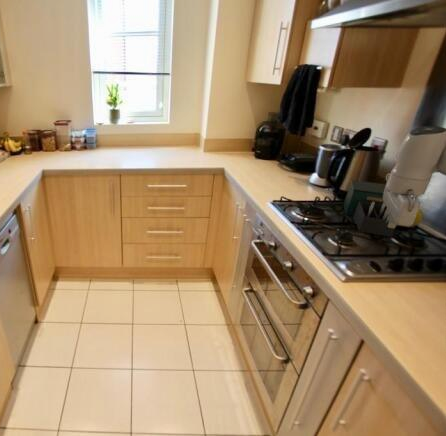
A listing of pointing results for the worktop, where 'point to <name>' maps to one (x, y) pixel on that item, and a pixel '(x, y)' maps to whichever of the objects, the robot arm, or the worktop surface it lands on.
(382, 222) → the cutlery holder
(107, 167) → the worktop surface
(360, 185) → the bread bin
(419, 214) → the lemon
